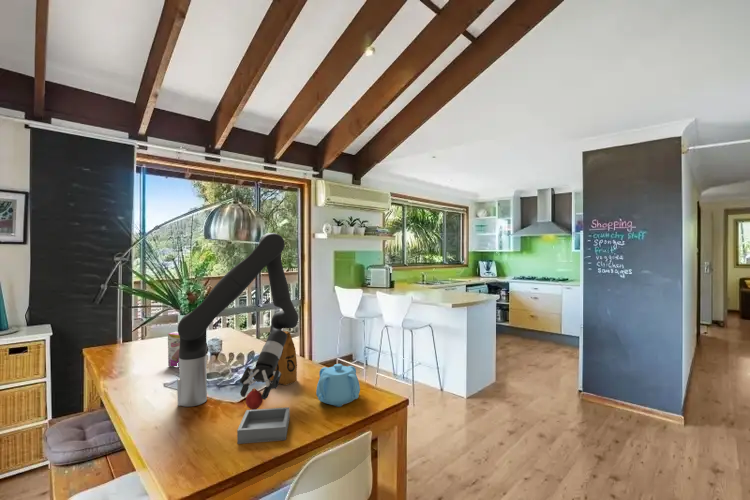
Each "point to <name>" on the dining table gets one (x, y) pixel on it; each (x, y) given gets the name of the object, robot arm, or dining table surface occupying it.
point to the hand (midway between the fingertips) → (252, 397)
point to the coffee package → (287, 363)
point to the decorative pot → (338, 385)
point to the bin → (264, 425)
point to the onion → (254, 399)
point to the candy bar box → (173, 348)
